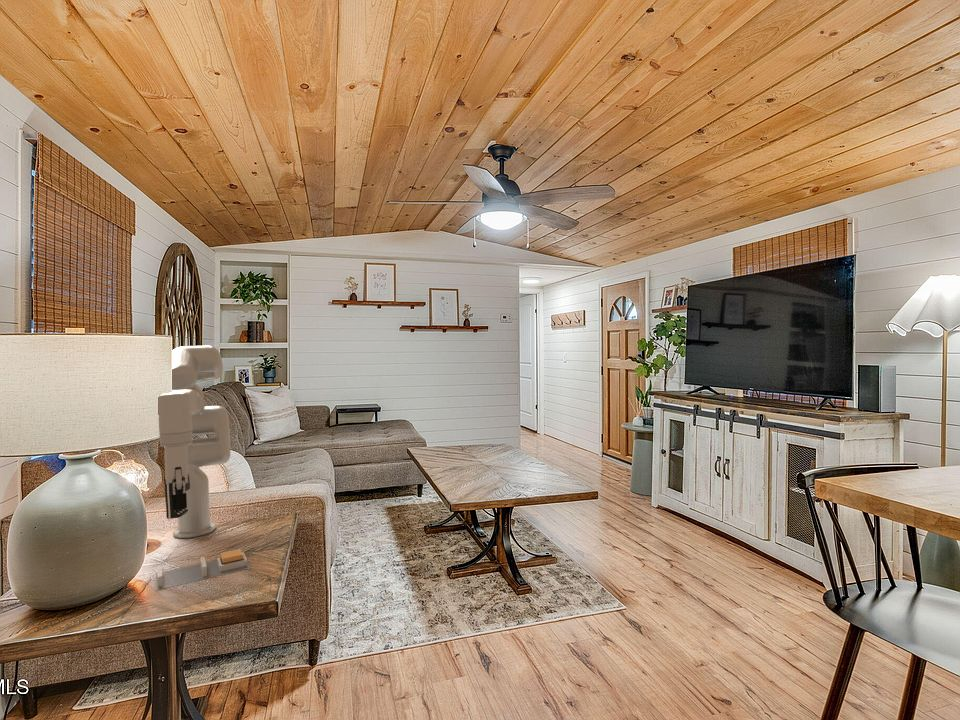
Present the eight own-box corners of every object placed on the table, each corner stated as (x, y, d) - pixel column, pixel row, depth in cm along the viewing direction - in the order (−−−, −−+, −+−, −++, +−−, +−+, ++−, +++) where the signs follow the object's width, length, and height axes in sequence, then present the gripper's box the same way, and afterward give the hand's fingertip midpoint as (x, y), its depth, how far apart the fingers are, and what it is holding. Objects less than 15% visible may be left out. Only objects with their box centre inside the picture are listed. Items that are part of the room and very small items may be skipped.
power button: (221, 557, 143) (220, 552, 143) (240, 552, 146) (240, 548, 146) (222, 563, 139) (222, 558, 139) (242, 558, 142) (242, 554, 142)
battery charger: (181, 519, 132) (179, 475, 132) (165, 520, 132) (163, 476, 132) (192, 510, 139) (191, 469, 139) (178, 511, 139) (176, 470, 138)
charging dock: (156, 578, 138) (155, 564, 138) (245, 558, 150) (244, 545, 150) (155, 596, 128) (155, 580, 128) (251, 573, 139) (250, 559, 139)
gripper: (159, 436, 141) (162, 500, 141) (159, 445, 126) (162, 516, 126) (190, 433, 145) (193, 495, 145) (194, 441, 130) (197, 510, 130)
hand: (179, 504), depth 136 cm, fingers closed on battery charger, 7 cm apart
